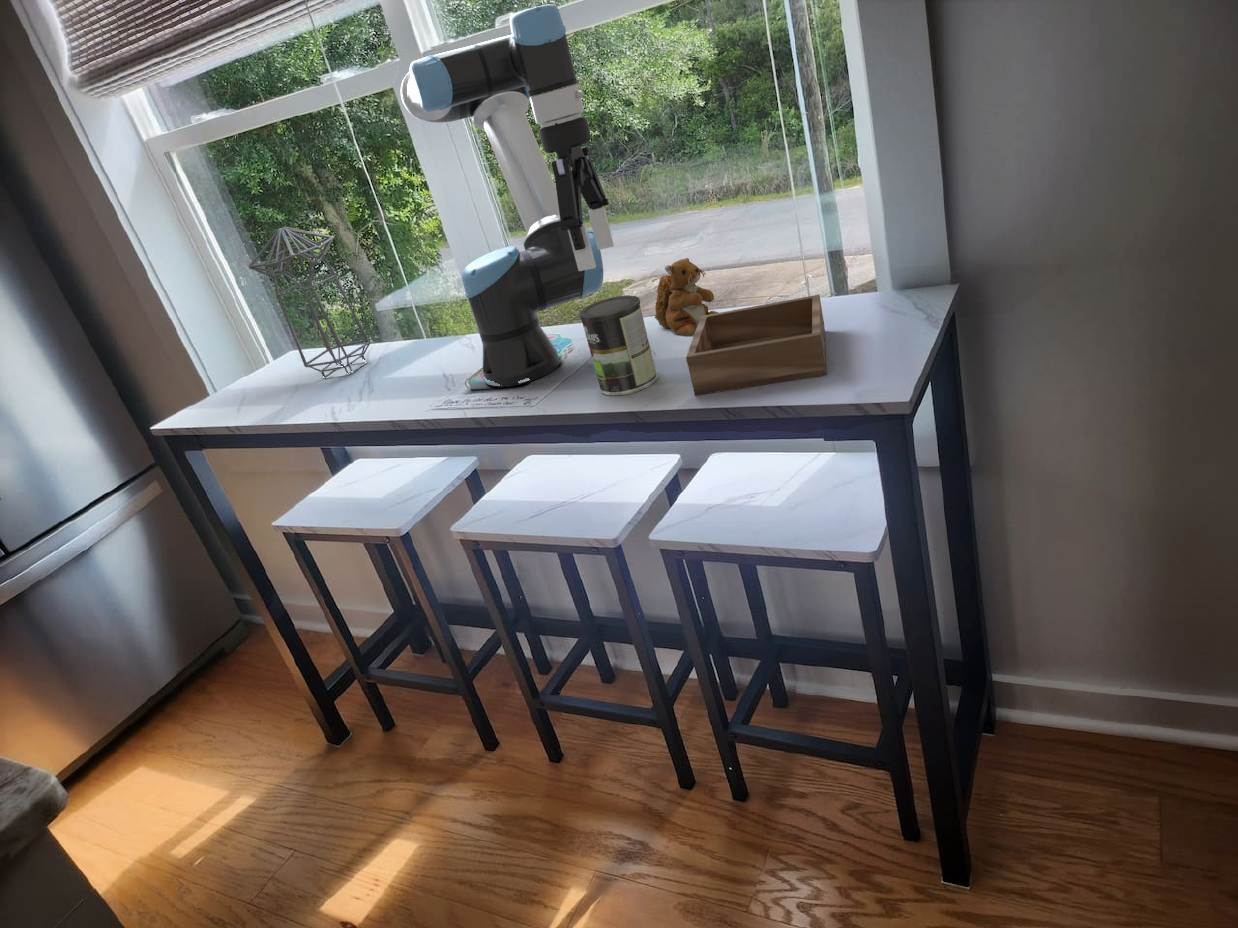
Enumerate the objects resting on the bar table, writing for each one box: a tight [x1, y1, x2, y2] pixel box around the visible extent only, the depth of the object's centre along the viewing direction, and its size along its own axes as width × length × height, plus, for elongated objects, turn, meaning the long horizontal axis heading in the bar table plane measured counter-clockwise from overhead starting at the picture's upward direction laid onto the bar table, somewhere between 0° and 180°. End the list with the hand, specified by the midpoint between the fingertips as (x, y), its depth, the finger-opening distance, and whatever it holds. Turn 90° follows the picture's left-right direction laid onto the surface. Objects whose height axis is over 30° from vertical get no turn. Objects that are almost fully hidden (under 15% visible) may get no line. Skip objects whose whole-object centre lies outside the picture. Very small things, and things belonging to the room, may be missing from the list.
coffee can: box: [578, 295, 658, 397], centre depth 144 cm, size 10×10×14 cm
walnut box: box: [685, 294, 828, 397], centre depth 139 cm, size 20×20×6 cm
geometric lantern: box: [248, 226, 371, 377], centre depth 197 cm, size 16×16×35 cm
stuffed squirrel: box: [654, 257, 719, 337], centre depth 167 cm, size 10×14×13 cm
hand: (597, 258), depth 138 cm, fingers open, 13 cm apart
